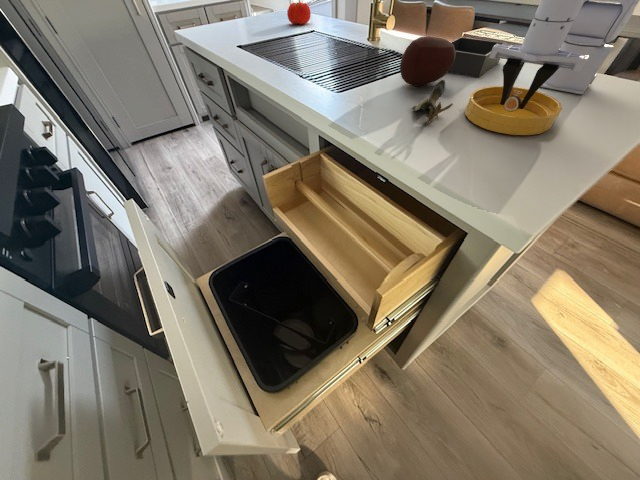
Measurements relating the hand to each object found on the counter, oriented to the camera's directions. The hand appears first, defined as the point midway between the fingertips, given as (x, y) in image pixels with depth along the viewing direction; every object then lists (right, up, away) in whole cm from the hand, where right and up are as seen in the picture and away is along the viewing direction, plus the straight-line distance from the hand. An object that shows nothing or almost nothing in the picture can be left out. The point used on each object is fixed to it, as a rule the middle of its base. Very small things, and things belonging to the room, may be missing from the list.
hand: (512, 105), depth 54 cm
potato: (-12, +13, +16) cm, 24 cm away
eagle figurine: (-16, -1, +4) cm, 16 cm away
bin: (+4, +24, +25) cm, 34 cm away
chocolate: (0, -1, +1) cm, 1 cm away
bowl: (0, -2, +2) cm, 3 cm away
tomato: (-48, +76, +74) cm, 116 cm away
